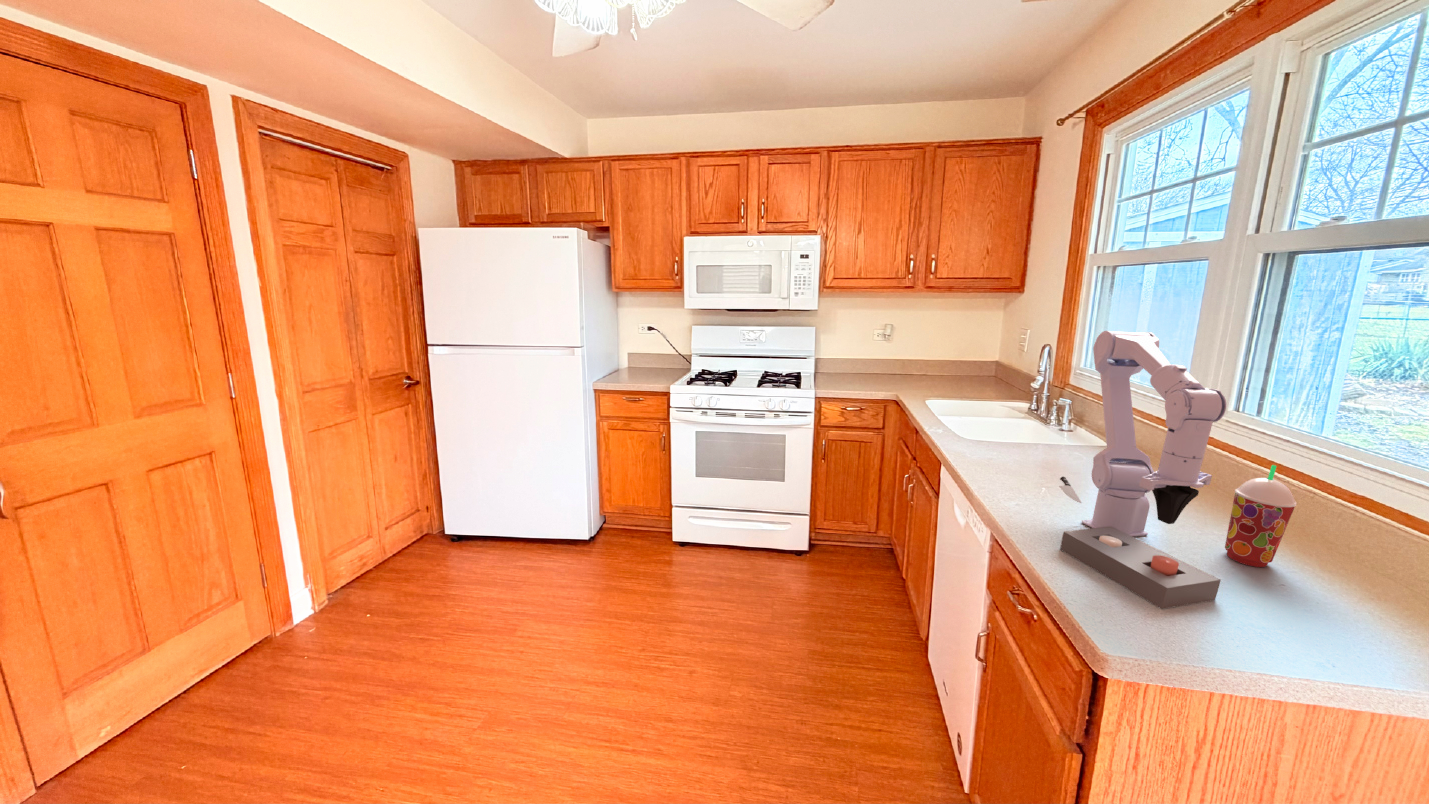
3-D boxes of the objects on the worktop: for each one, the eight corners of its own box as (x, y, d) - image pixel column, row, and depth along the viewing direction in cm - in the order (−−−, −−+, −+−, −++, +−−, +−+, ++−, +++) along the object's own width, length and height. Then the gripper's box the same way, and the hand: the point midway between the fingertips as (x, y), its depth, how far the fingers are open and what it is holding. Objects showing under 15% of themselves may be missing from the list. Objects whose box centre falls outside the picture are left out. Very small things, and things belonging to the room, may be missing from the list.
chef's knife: (1069, 505, 130) (1083, 507, 129) (1069, 501, 130) (1084, 502, 129) (1052, 478, 148) (1064, 479, 146) (1052, 474, 147) (1065, 475, 146)
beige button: (1106, 548, 106) (1109, 534, 106) (1123, 557, 103) (1127, 543, 102) (1092, 550, 105) (1095, 536, 105) (1109, 559, 102) (1112, 545, 101)
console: (1106, 543, 111) (1110, 526, 110) (1214, 600, 92) (1220, 579, 91) (1060, 549, 108) (1063, 531, 107) (1161, 609, 89) (1167, 587, 88)
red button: (1159, 569, 97) (1162, 554, 96) (1180, 580, 93) (1184, 564, 92) (1143, 571, 96) (1147, 556, 95) (1164, 582, 92) (1168, 567, 92)
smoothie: (1259, 553, 108) (1287, 461, 103) (1287, 575, 100) (1318, 476, 95) (1209, 546, 111) (1234, 455, 106) (1232, 566, 103) (1259, 469, 98)
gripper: (1175, 463, 91) (1157, 535, 95) (1237, 458, 95) (1218, 527, 98) (1135, 450, 98) (1120, 517, 101) (1194, 446, 101) (1177, 511, 105)
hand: (1165, 521), depth 100 cm, fingers closed
